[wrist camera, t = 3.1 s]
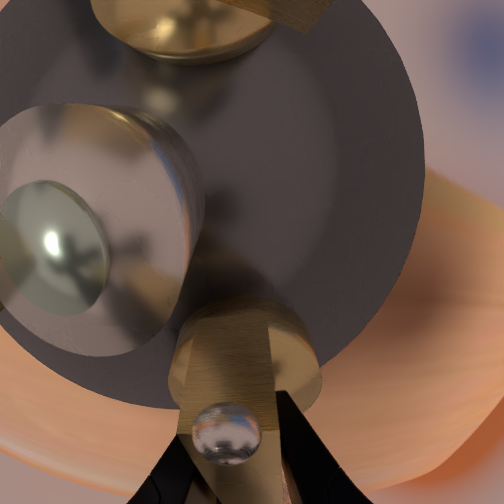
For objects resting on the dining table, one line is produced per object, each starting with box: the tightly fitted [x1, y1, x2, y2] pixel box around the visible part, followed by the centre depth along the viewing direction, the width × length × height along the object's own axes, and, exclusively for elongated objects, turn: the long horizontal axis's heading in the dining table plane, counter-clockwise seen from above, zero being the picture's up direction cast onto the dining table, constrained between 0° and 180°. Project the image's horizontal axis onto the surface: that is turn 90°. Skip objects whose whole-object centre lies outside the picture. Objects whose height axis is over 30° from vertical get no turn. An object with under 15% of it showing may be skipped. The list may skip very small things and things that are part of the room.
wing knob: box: [168, 296, 322, 504], centre depth 8 cm, size 7×5×6 cm
